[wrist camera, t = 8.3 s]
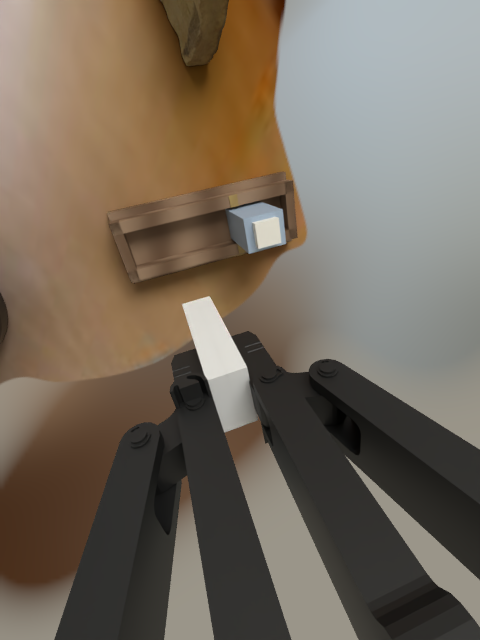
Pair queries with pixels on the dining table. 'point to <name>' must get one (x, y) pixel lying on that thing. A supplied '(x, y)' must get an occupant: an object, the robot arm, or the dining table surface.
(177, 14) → the rock
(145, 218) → the wooden tray
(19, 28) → the dining table surface
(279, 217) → the rider
